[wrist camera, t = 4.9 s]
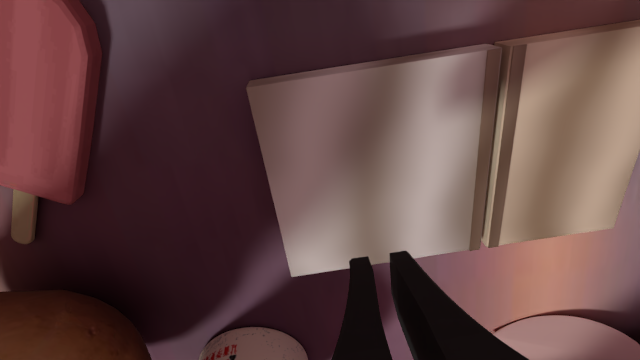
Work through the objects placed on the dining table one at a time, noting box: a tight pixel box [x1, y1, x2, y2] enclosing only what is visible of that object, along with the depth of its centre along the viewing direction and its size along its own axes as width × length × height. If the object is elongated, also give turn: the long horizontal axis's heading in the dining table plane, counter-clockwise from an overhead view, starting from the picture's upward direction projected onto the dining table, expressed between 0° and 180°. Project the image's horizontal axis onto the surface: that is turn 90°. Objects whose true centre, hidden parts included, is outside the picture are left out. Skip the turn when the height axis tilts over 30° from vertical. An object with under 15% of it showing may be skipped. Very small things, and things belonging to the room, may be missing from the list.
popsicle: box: [0, 0, 102, 244], centre depth 18 cm, size 5×2×15 cm
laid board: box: [481, 20, 640, 248], centre depth 20 cm, size 8×12×2 cm, turn 8°
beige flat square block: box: [246, 44, 502, 277], centre depth 20 cm, size 12×12×2 cm
